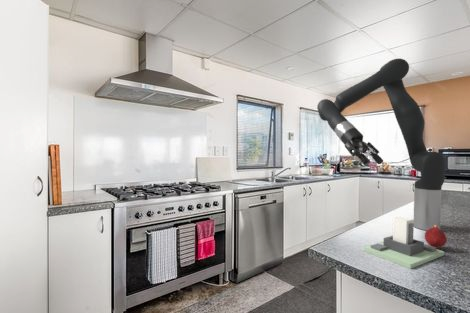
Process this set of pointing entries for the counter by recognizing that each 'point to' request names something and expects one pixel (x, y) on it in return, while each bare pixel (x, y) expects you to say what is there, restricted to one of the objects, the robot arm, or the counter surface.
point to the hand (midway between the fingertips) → (374, 162)
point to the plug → (403, 230)
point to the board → (404, 252)
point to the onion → (435, 237)
